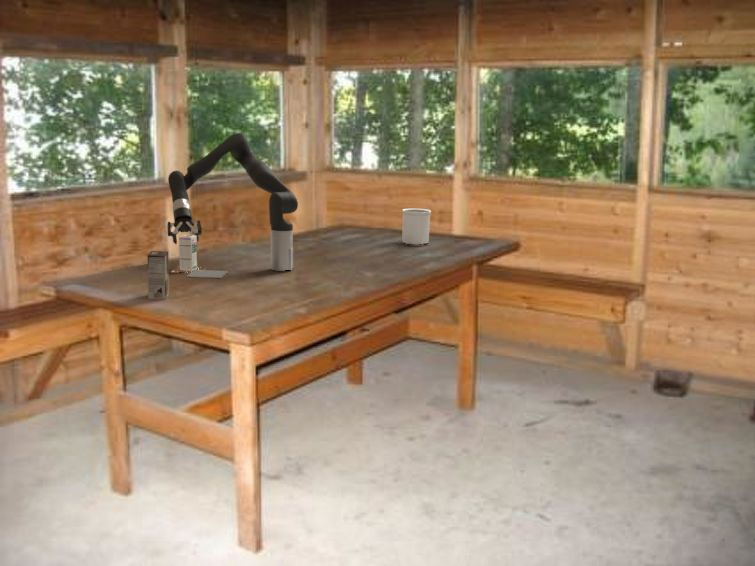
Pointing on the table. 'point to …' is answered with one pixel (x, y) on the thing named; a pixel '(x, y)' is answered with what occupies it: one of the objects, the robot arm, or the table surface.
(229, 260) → the table surface
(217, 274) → the mat
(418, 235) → the utensil holder
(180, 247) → the syrup box
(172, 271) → the tile
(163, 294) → the coffee box
